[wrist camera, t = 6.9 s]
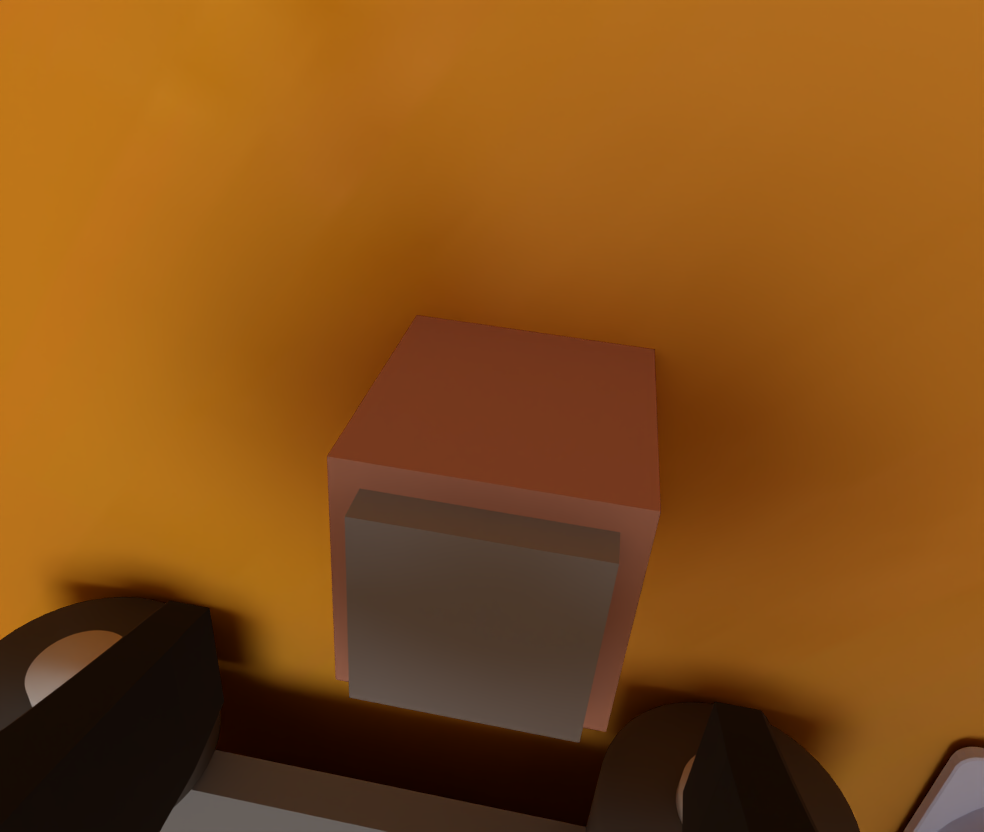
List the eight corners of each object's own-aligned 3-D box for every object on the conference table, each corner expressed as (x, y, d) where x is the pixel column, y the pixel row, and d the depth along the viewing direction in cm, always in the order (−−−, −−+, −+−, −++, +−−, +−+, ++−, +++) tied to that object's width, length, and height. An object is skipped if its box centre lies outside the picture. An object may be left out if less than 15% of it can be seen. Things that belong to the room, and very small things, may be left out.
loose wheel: (247, 602, 21) (123, 804, 16) (256, 675, 23) (146, 880, 18) (48, 565, 22) (-132, 748, 17) (69, 638, 23) (-90, 826, 18)
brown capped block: (654, 348, 16) (662, 542, 10) (614, 535, 18) (604, 767, 13) (417, 314, 16) (310, 483, 11) (411, 501, 19) (322, 711, 13)
